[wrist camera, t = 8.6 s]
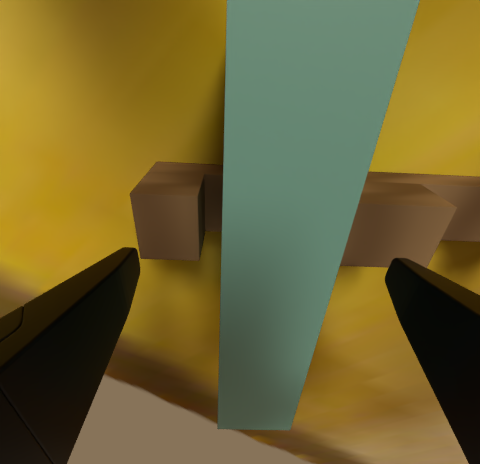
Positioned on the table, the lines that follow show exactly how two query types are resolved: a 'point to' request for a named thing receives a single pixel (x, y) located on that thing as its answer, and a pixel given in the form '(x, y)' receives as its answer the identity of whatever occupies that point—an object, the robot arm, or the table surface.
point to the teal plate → (293, 182)
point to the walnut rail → (363, 227)
